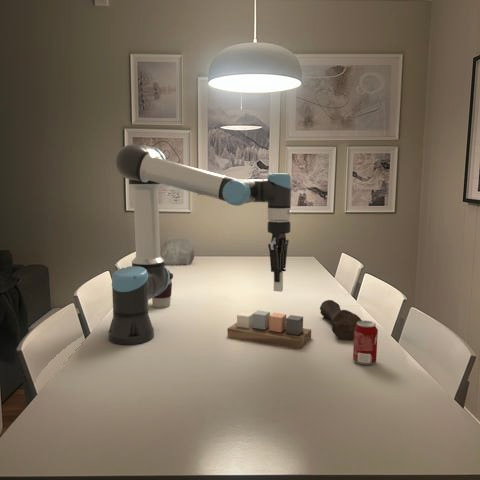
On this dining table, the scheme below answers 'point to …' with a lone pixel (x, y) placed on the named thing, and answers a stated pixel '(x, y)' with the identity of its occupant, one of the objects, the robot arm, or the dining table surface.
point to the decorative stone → (177, 251)
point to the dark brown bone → (340, 319)
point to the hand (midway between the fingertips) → (278, 290)
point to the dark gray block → (294, 324)
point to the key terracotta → (277, 322)
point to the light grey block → (261, 319)
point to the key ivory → (245, 320)
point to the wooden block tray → (270, 336)
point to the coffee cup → (163, 296)
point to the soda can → (365, 343)
